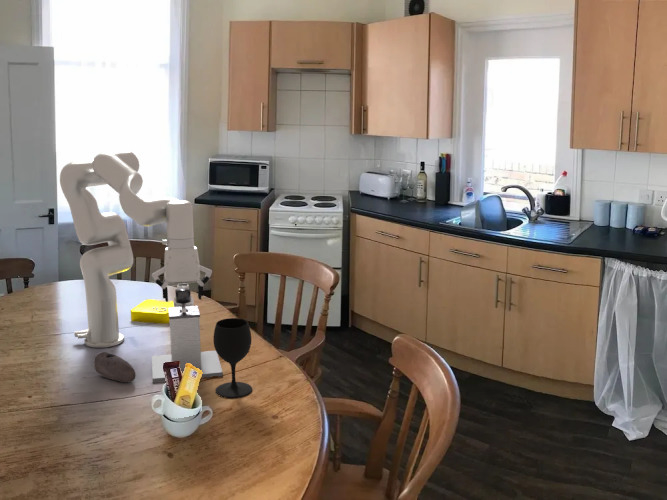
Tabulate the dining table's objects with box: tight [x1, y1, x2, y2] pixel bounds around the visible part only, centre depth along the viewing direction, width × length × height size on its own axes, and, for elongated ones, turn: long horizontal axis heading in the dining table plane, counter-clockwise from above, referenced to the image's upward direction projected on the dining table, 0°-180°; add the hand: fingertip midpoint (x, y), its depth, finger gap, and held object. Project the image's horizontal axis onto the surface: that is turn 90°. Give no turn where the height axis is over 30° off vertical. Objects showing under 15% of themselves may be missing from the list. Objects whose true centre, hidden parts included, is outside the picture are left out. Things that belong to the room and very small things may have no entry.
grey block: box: [168, 305, 202, 370], centre depth 222 cm, size 9×12×17 cm
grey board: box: [151, 350, 223, 383], centre depth 223 cm, size 20×18×1 cm
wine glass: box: [213, 317, 253, 399], centre depth 204 cm, size 10×10×20 cm
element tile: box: [130, 298, 174, 325], centre depth 269 cm, size 15×15×5 cm
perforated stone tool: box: [94, 351, 137, 383], centre depth 213 cm, size 15×5×7 cm, turn 56°
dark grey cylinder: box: [174, 287, 192, 312], centre depth 219 cm, size 4×4×20 cm
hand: (183, 299), depth 218 cm, fingers open, 9 cm apart
